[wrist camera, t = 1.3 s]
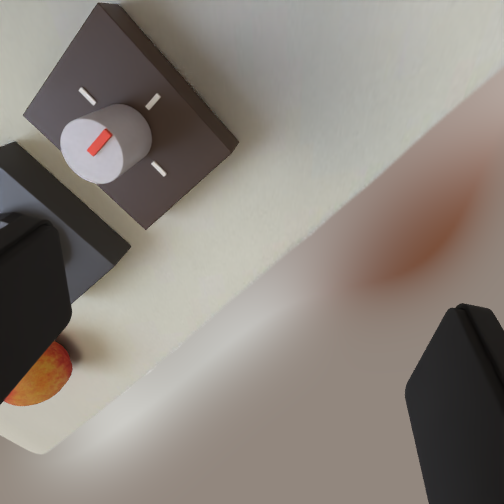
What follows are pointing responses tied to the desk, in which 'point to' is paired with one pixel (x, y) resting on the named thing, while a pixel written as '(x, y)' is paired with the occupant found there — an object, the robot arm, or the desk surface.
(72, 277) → the control block
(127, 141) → the dial
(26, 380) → the fruit
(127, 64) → the dial panel
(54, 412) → the desk surface
